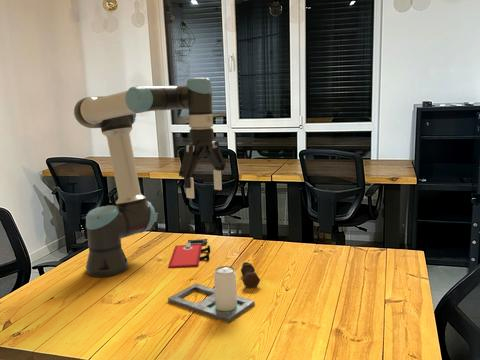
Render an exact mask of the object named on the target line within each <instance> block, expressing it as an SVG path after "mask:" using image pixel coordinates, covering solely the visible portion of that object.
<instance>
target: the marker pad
mask: <svg viewBox="0 0 480 360" xmlns="http://www.w3.org/2000/svg"><path fill="white" fill-rule="evenodd" d="M239 306H241V304H238V303H237V307H236V308H238V307H239ZM210 308H212V309H215V310H218V309H217V308H216V305H214V306H212V307H210ZM236 308H235V309H236ZM235 309H234V310H235ZM218 311H219V310H218ZM232 311H233V310H232ZM232 311H229V312H224V313H227V314H229V313H230V312H232ZM221 312H222V311H221Z"/></svg>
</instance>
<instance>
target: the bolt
mask: <svg viewBox="0 0 480 360" xmlns="http://www.w3.org/2000/svg"><path fill="white" fill-rule="evenodd" d="M255 271H256V269H255V267H254V266H253V264H252V263H250V262H248V261H247V262H246V261H245V262H243V263H242V265H241V269H240V272H241V273H242V275H243V276H244V277H243V278H242V284H243V285H244V286H245V287H246V288H247V289H255V288H257V287H258V285H259V284H260V281H261V279H260V277H259V276H258V274H257V273H256V272H255Z"/></svg>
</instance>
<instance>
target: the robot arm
mask: <svg viewBox="0 0 480 360" xmlns="http://www.w3.org/2000/svg"><path fill="white" fill-rule="evenodd" d="M170 110H171V111H172V110H175V111H176V110H188V127H189V128H190V129H189V140H190V141H191V142H192V144H191V145H187V144H186V145H185V146H184V153H183V158H182V161H181V164H180V168H179V173H178V176H179V177H181V178H184V188H185V195H186V199H187V198H188V199H195V186H194V185H195V182H194V177H193V174H194V171H195V169H196V167H197V165H198V163H199V161H200V160H201V159H203V158H207V160H209V162H210V164H211V165H212V167H213V168H214V170H213V186H214V187H213V189H214V190H217V191H222V190H223V188H222V187H223V186H222V184H223V183H222V179H223V171H225V168H226V167H227V164H226V161H225V159H224V156H223V154H222V151H221V148H220V144H219V143H220V142H219V141H218V140H217V141H216V140H214V139H215V134H214V132H215V131H214V129H213V126H214V123H213V121H214V120H213V90H212V82H211V79H210V78H208V77H191V78H187V80H186V85H157V86H156V85H153V86H152V85H151V86H148V85H147V86H146V85H145V86H144V85H136V86H131V87H129V88H128V90H124V91H121V92H117V93H114V94H109V95H104V96H87V97H83V98H81V99H79V100H78V101H77V102H76V103H75V105H74V109H73V115H74V117H75V118H74V119H75V120H76V121H77V122H78V124H80V125H81V126H83V127H85V128H89V129H100V131H101V134H102V135H103V136H105V137H106V140H107V145H108V150H109V156H110V161H111V166H112V170H113V175H114V181H115V185H116V186H115V187H116V191H117V196H118V199H117V200H116V201H115V205H111V204H109V205H105V206H104V205H103V206H99V207H96V208H93V209H91V210H89V211H88V212H87V214H86V216H85V228H86V233H87V244H88V256H87V260H86V265H85V272H86V274H87V276H90V277H92V278H93V277H95V278H107V277H112V276H115V275H119V274H122V273H123V272H125V271H127V269H128V268H129V263H128V262H129V261H128V258H127V257H126V255H125V252H124V250H123V247H122V239H124V238H126V237H127V238H128V237H130V236H131V237H132V236H133V235H136V234H142V233H144V232H147V231H149V230H150V229H152V227H153V225H154V223H155V220H156V212H155V211H156V210H155V208H154V206H153V204H152V202H150V201H149V200H147V199H146V198H147V197H146V196H145V195H143V194H142V193H141V187H140V180H139V177H138V172H137V167H136V161H135V157H134V156H135V155H134V151H133V145H132V139H131V136H130V133H131V132H132V130H133V124H135V123H136V118H137V114H139V113H140V114H141V113H142V114H143V113H146V112H147V113H148V112H154V111H156V112H157V111H170Z"/></svg>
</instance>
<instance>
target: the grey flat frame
mask: <svg viewBox="0 0 480 360" xmlns="http://www.w3.org/2000/svg"><path fill="white" fill-rule="evenodd" d="M195 291H196V292H200V293H202V294H206V295H209V296H208V297H206V298H204V299H203V300H200V301H199V302H193V301H191V300H187V299H184V298H185V296H188V295H189V294H191V293H193V292H195ZM167 301H168V303H170V304H173V305H177V306H179V307H182V308H185V309H187V310H190V311H193V312H196V313H199V314H202V315H205V316H208V317H210V318H213V319H216V320H219V321H223V322H225V323H227V324H229V323H230V322H231V321H233V320H235V319H237V317H239V316H240V315H242V314H243V313H245V312H246V311H248V310H249V309H251V308H252V307H253V306H255V305H256V304H255V300H252V299H249V298H246V297H243V296H239V295H237V303H238V304H241V306H239V307H238V308H236V309H235V310H233V311H232V312H230V313H229V314H227V313H224V312H221V311H218V310H215V309H212V308H210V307H212V306H214V305H215V288H212V287H209V286H205V285H203V284H199V283H193V284H192V285H190V286H188V287H187V288H184V289H182V290H180V291H178V292H177V293H174V294H173V295H171V296H169V297H167Z"/></svg>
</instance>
